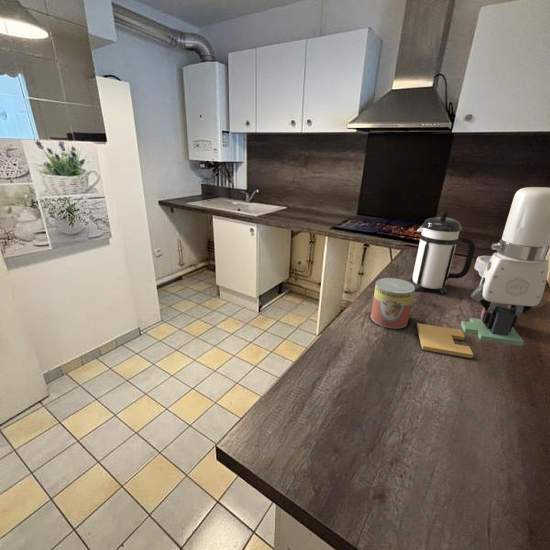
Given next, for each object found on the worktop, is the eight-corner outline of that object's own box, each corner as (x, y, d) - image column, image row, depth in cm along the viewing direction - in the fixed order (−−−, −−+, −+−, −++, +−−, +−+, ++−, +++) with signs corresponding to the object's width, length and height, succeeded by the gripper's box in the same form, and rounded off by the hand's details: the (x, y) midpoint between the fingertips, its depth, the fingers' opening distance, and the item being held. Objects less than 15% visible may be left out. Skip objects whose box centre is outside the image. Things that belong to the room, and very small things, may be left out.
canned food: (369, 324, 90) (374, 289, 86) (371, 307, 100) (376, 275, 95) (408, 331, 87) (416, 296, 82) (407, 313, 96) (414, 280, 92)
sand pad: (460, 333, 86) (461, 329, 86) (472, 358, 76) (473, 354, 75) (416, 326, 89) (417, 323, 89) (422, 349, 79) (423, 345, 78)
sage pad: (507, 326, 69) (516, 302, 67) (522, 346, 62) (532, 320, 60) (458, 320, 72) (464, 297, 70) (467, 338, 65) (474, 313, 63)
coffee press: (432, 299, 106) (452, 217, 94) (399, 282, 119) (412, 209, 108) (464, 291, 112) (486, 213, 101) (429, 276, 126) (445, 206, 114)
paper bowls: (501, 272, 131) (506, 255, 127) (524, 286, 117) (531, 268, 113) (465, 270, 132) (470, 254, 129) (484, 284, 118) (490, 266, 115)
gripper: (481, 252, 58) (460, 330, 65) (583, 260, 54) (548, 342, 61) (470, 242, 65) (452, 314, 72) (560, 248, 60) (531, 324, 67)
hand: (496, 326), depth 66 cm, fingers closed on sage pad, 3 cm apart
